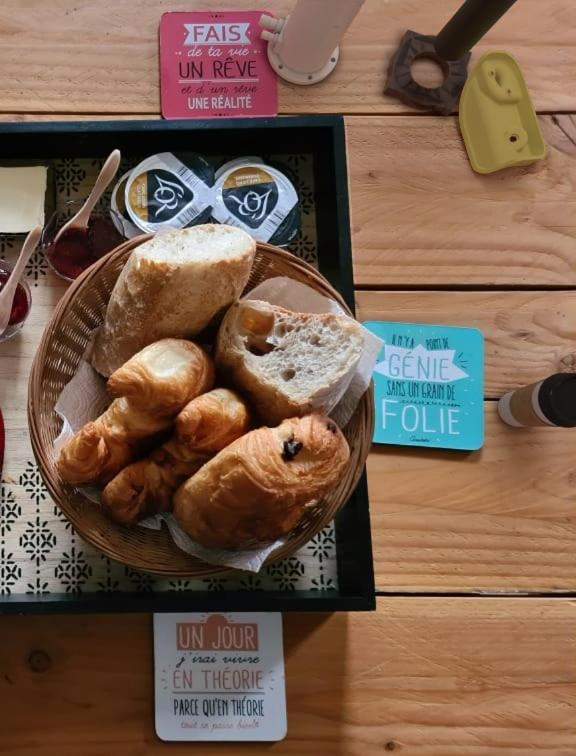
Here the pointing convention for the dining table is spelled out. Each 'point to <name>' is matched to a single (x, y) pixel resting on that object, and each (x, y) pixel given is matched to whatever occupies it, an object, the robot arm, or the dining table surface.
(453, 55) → the wine bottle
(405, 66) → the brown square ring
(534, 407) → the coffee cup
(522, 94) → the plastic component
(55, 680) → the dining table surface
